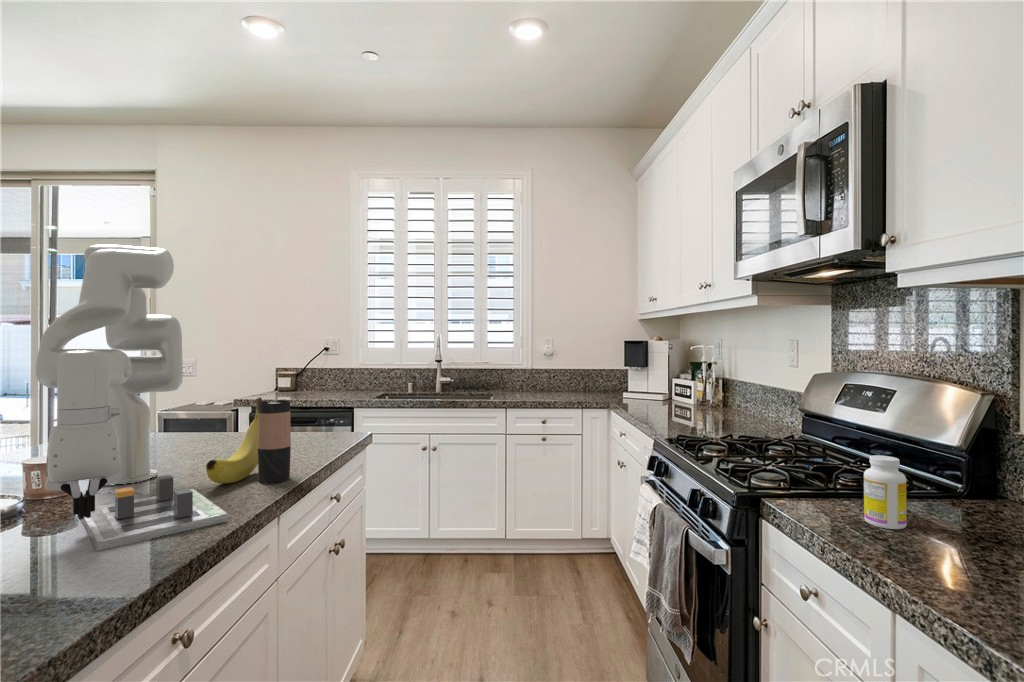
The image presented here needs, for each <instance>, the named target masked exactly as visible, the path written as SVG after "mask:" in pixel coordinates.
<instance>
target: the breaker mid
mask: <svg viewBox="0 0 1024 682" xmlns="http://www.w3.org/2000/svg"><path fill="white" fill-rule="evenodd" d="M134 500H135V489H134V488H133V487H132V486H129V487H122V488H115V489H114V503H115V516H116V517H117V519H121V518H126V517H131V516H134Z"/></svg>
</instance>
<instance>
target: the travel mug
mask: <svg viewBox="0 0 1024 682" xmlns="http://www.w3.org/2000/svg"><path fill="white" fill-rule="evenodd" d="M291 428H292V427H291V401H290V400H286V399H285V400H284V399H283V400H282V399H281V400H280V399H279V400H276V401H275V402H268V401H267V400H264V401H263V400H262V402H259V403H258V464H257V466H258V470H257V471H258V482H259V484H263V485H273V484H274V485H275V484H280V483H284V482H287V481H289V480H290V479H291V478H290V477H291V450H292V449H291V447H292V445H291V444H292V440H291V438H292V437H291V435H292V434H291V433H292V432H291Z"/></svg>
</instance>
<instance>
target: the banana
mask: <svg viewBox="0 0 1024 682" xmlns="http://www.w3.org/2000/svg"><path fill="white" fill-rule="evenodd" d="M259 402H263V400H262V397H260V396H259V397H257V398H256V399H255V402H254V405H253V406H254V407H255V416H254V418H253V421H251V423H250V424H249V426H248V428H247V430H246V432H245V435H244V438H243V440H242V442H241V444H240V445H239V447H238V449H237V451H235V453H234V454H232V455H231V456H230V457H229V458H227V459H221V458H220V459H217V458H215V459H211V460H209V461H207V463H206V464H205V465H206V468H205V470H206V474H207V477H208V478H209V480H210V481H212V482H214V483H217V484H223V485H224V484H233V483H237V482H239V481H241V480H243V479H245V478H246V477H248V476H249V475H250V474H252V472H253V471H254V470H255V469H256V468H257V466H258V403H259Z"/></svg>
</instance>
